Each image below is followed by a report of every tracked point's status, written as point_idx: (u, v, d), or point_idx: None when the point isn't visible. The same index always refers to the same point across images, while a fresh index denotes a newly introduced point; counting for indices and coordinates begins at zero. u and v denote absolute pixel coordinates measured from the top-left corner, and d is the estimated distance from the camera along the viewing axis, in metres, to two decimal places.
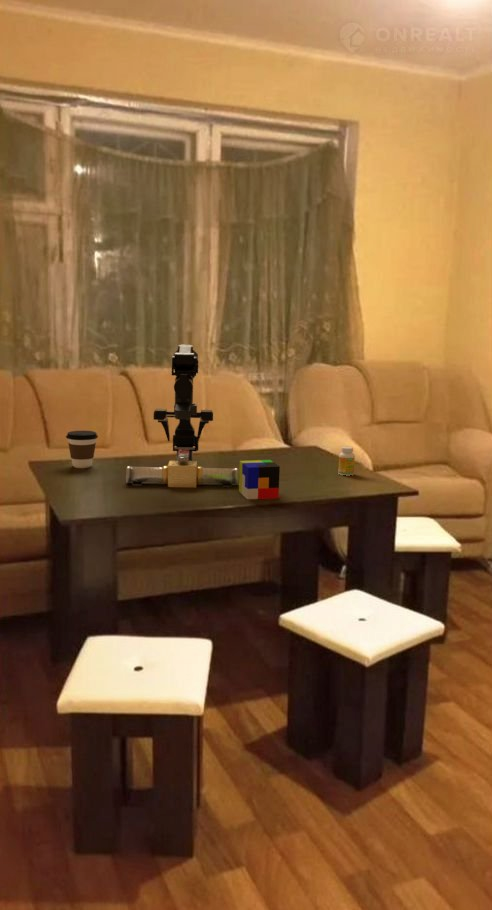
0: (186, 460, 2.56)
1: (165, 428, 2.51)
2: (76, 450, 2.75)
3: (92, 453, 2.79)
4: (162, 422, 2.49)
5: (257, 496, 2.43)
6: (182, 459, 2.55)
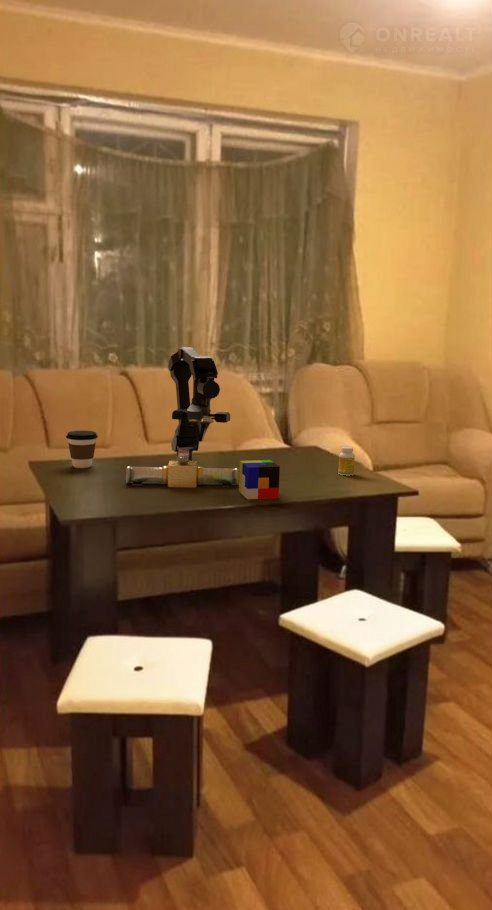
0: (186, 460, 2.56)
1: (196, 428, 2.62)
2: (76, 450, 2.75)
3: (92, 453, 2.79)
4: (192, 423, 2.61)
5: (257, 496, 2.43)
6: (182, 459, 2.55)
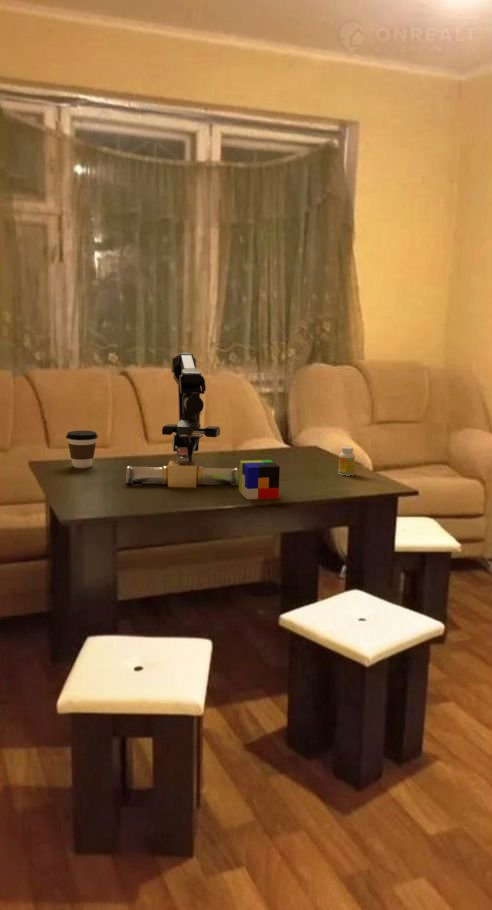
0: (186, 460, 2.56)
1: (186, 443, 2.64)
2: (76, 450, 2.75)
3: (92, 453, 2.79)
4: (183, 438, 2.63)
5: (257, 496, 2.43)
6: (182, 459, 2.55)
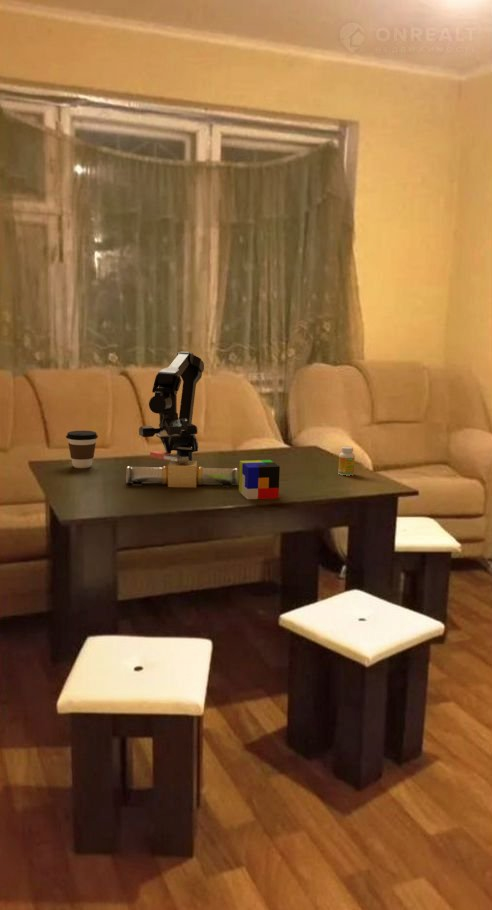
0: None
1: (166, 443, 2.62)
2: (76, 450, 2.75)
3: (92, 453, 2.79)
4: (164, 438, 2.60)
5: (257, 496, 2.43)
6: (186, 459, 2.56)
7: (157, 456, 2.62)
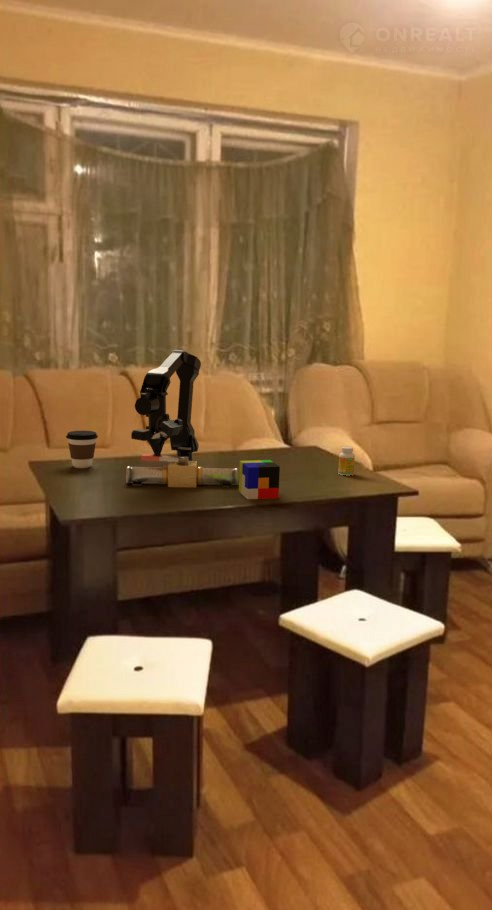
0: None
1: (158, 445, 2.59)
2: (76, 450, 2.75)
3: (92, 453, 2.79)
4: (159, 440, 2.57)
5: (257, 496, 2.43)
6: None
7: (151, 459, 2.57)
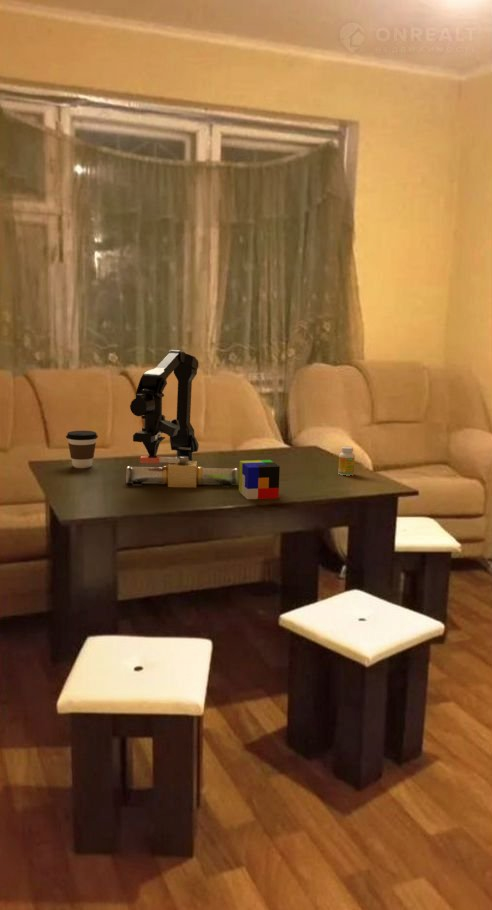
0: None
1: (155, 447, 2.57)
2: (76, 450, 2.75)
3: (92, 453, 2.79)
4: (158, 441, 2.55)
5: (257, 496, 2.43)
6: None
7: (151, 461, 2.54)
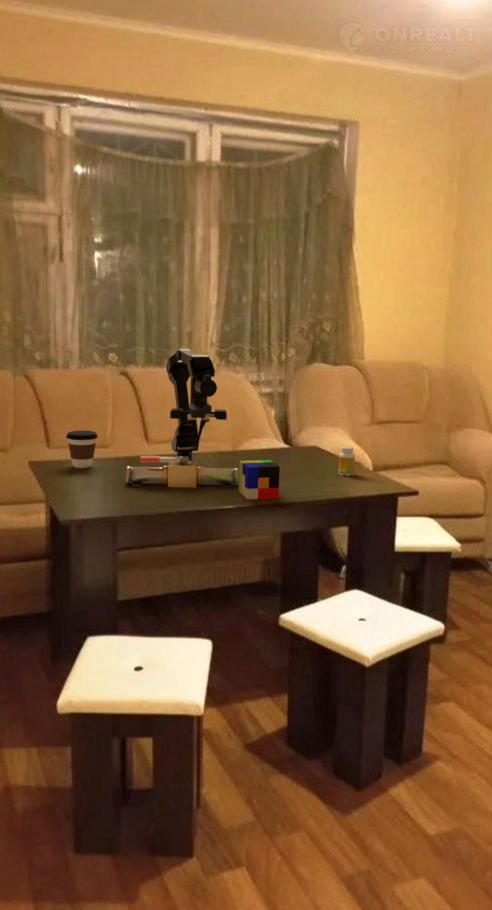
0: None
1: (194, 427, 2.65)
2: (76, 450, 2.75)
3: (92, 453, 2.79)
4: (191, 421, 2.63)
5: (257, 496, 2.43)
6: None
7: (151, 461, 2.54)
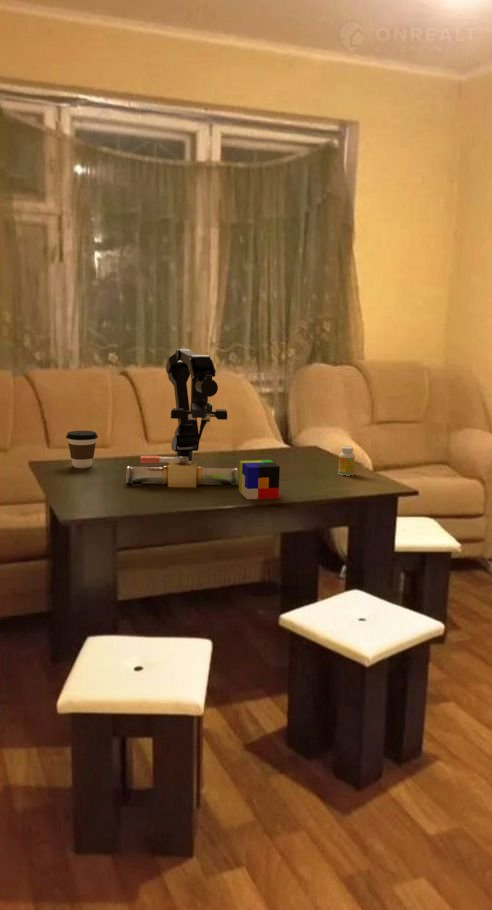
0: None
1: (195, 427, 2.65)
2: (76, 450, 2.75)
3: (92, 453, 2.79)
4: (192, 421, 2.63)
5: (257, 496, 2.43)
6: None
7: (151, 461, 2.54)
